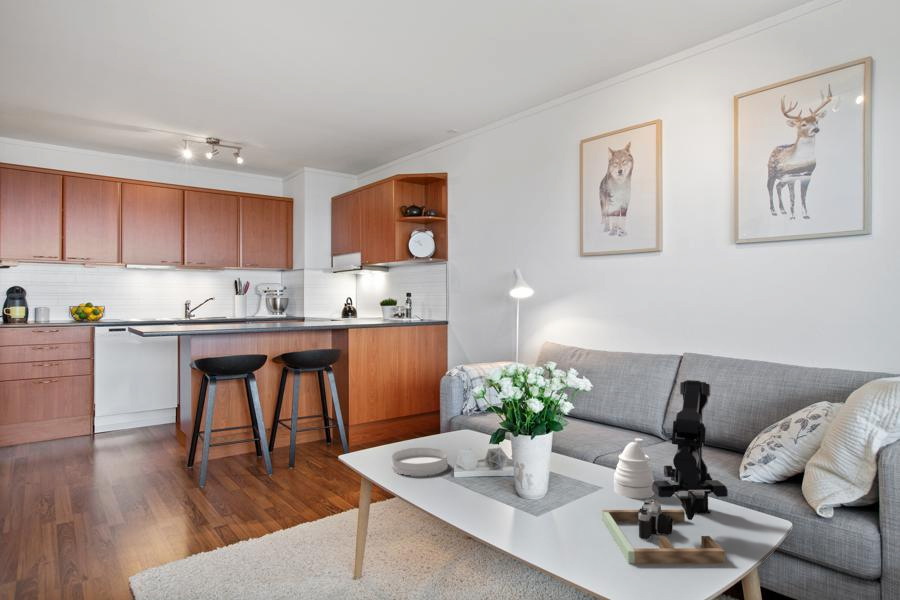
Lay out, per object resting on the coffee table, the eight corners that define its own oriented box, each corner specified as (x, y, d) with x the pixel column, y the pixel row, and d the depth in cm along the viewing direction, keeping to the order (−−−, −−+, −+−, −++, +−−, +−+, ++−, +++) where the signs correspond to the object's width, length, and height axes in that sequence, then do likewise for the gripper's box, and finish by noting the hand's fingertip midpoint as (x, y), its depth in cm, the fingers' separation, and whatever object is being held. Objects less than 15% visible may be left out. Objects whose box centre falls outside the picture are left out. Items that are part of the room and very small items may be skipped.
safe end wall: (607, 520, 160) (607, 510, 160) (634, 563, 134) (634, 551, 134) (602, 520, 160) (602, 510, 160) (628, 563, 134) (628, 551, 134)
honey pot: (659, 490, 184) (658, 437, 184) (646, 501, 174) (645, 445, 174) (622, 482, 192) (622, 431, 192) (607, 492, 182) (607, 439, 182)
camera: (666, 546, 143) (667, 511, 144) (636, 539, 148) (636, 505, 148) (674, 531, 155) (675, 499, 155) (646, 525, 159) (646, 494, 159)
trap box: (682, 519, 160) (682, 509, 160) (724, 563, 134) (724, 551, 134) (602, 520, 160) (602, 510, 160) (628, 563, 134) (628, 551, 134)
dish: (382, 474, 206) (382, 461, 206) (404, 457, 227) (403, 445, 227) (437, 479, 200) (437, 465, 200) (454, 461, 221) (454, 449, 221)
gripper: (709, 454, 158) (710, 508, 158) (645, 455, 158) (645, 508, 158) (728, 466, 147) (729, 523, 147) (658, 466, 147) (659, 524, 147)
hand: (689, 519), depth 150 cm, fingers closed
